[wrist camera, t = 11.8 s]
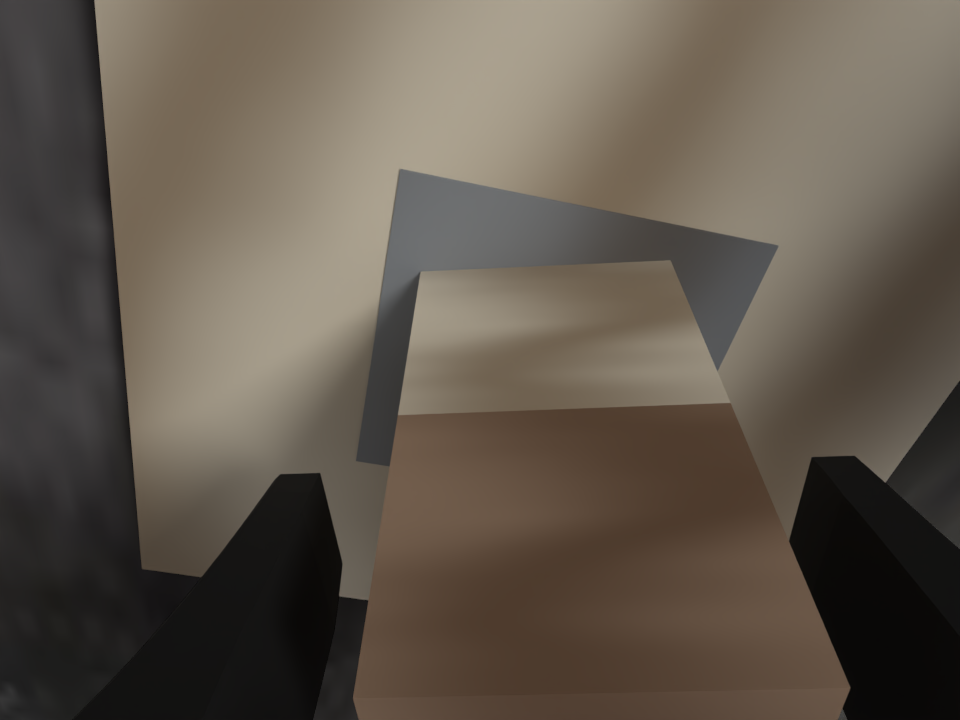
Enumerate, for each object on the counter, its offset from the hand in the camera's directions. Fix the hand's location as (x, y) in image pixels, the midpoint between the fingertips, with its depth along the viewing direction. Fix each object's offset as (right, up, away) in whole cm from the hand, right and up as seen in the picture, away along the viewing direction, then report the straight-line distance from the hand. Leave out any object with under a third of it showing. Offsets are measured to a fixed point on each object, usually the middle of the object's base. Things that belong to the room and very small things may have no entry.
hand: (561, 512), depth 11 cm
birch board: (0, +3, +4) cm, 5 cm away
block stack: (0, +2, +3) cm, 4 cm away
